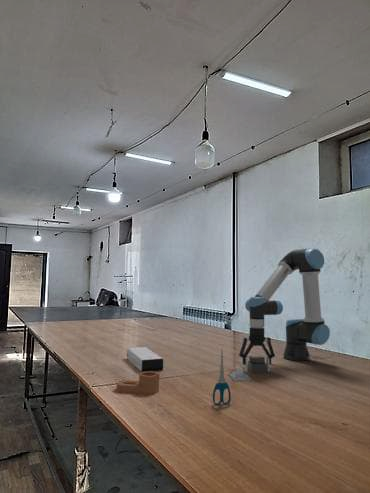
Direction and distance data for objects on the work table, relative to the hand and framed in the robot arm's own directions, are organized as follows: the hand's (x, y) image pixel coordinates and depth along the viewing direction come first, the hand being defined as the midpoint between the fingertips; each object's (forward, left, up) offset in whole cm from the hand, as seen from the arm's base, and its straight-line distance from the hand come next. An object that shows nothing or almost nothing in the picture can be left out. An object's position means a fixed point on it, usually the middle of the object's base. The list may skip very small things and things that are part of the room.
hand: (256, 371), depth 187 cm
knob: (0, 0, 0) cm, 0 cm away
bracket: (+60, +28, -1) cm, 66 cm away
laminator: (+58, -19, -1) cm, 61 cm away
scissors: (+28, +48, 0) cm, 55 cm away
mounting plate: (+12, +11, 0) cm, 16 cm away
